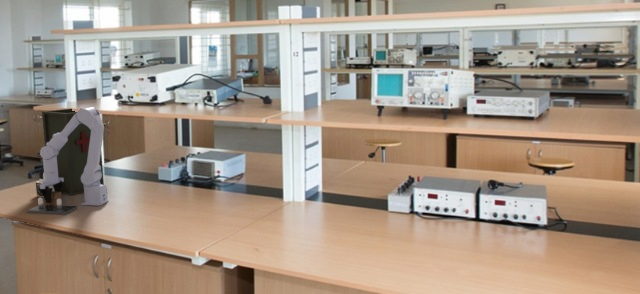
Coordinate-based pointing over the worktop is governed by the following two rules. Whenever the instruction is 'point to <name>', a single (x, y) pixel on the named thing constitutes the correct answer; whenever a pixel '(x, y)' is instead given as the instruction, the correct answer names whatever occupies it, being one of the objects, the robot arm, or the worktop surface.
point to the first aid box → (69, 149)
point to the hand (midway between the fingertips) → (53, 200)
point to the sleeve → (54, 198)
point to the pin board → (51, 208)
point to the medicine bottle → (42, 178)
